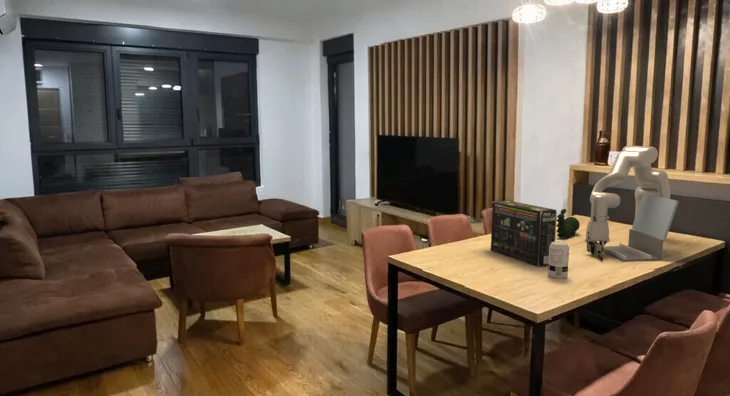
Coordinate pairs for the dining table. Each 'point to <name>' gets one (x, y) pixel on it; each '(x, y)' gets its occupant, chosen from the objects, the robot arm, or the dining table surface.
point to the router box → (523, 231)
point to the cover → (655, 215)
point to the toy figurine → (566, 225)
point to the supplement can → (558, 260)
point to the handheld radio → (596, 250)
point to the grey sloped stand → (637, 248)
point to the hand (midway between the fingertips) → (596, 253)
